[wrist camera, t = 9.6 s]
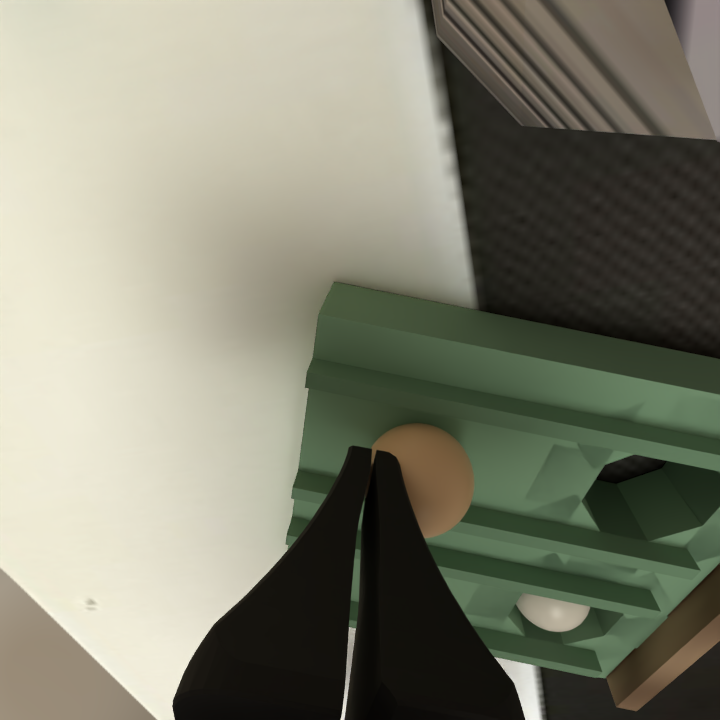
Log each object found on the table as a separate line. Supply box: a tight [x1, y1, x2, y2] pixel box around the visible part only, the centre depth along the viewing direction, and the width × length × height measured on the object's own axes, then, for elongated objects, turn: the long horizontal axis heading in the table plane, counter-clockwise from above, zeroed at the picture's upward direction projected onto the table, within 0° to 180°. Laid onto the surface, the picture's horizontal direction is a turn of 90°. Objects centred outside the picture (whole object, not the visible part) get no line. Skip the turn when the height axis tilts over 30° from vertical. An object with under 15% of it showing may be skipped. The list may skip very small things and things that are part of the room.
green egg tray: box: [286, 282, 720, 678], centre depth 18 cm, size 17×17×4 cm
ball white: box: [516, 593, 590, 632], centre depth 20 cm, size 4×4×4 cm
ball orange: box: [365, 423, 474, 538], centre depth 14 cm, size 4×4×4 cm
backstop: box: [606, 563, 720, 711], centre depth 18 cm, size 17×1×4 cm, turn 170°
